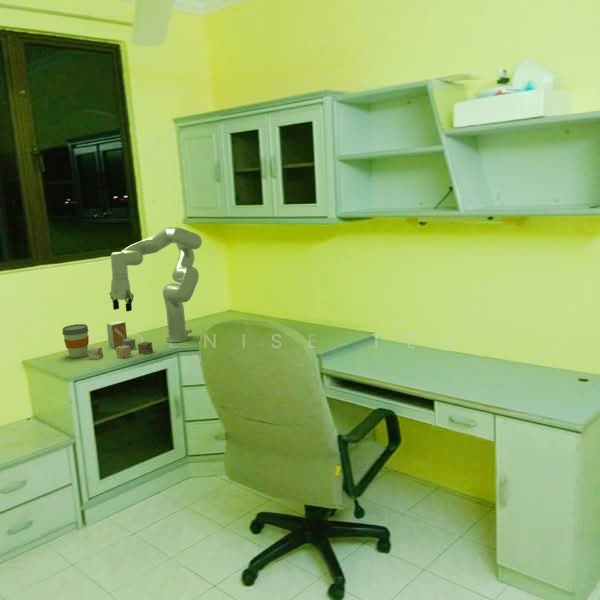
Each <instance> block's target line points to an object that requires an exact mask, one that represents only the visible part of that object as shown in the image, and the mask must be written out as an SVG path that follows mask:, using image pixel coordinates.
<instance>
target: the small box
mask: <svg viewBox="0 0 600 600" xmlns="http://www.w3.org/2000/svg"><path fill="white" fill-rule="evenodd" d="M106 330H107V339H108V346H110V348H112V347H113V348H112V349H116V347H119V346H123V345H122V340H124V339H128V336H127V327H126V322H125V321H122V320H118V321H113V322H108V323H106Z"/></svg>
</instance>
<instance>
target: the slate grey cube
mask: <svg viewBox="0 0 600 600" xmlns="http://www.w3.org/2000/svg"><path fill="white" fill-rule="evenodd" d="M122 345H125V346H130V349H131V350H134V349H133V348H136V347H137V346H136V339H134V338H132V337H129V338H128V337H127V339H124V340H122Z"/></svg>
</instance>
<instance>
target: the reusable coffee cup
mask: <svg viewBox="0 0 600 600" xmlns="http://www.w3.org/2000/svg"><path fill="white" fill-rule="evenodd" d="M88 332H89V328H88V324H86V323H83V324H82V323H78V324H71V325H66V326H64V327H62V335H63V341H64V344H65V348H66V349H67V352H68V356H69V358H80V356H82V357H85V356H87V355H89V354H88V349H89V348H88V346H89V340H90V339H89V338H90V337H89V335H88Z"/></svg>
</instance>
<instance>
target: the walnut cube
mask: <svg viewBox="0 0 600 600" xmlns="http://www.w3.org/2000/svg"><path fill="white" fill-rule="evenodd" d="M137 348H138V354H140V353H145V354H144V355H147V353H148V354H150V353H152V352H153V342H152V341H143V342H140V343H138V344H137ZM151 351H152V352H151ZM149 352H150V353H149Z"/></svg>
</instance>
